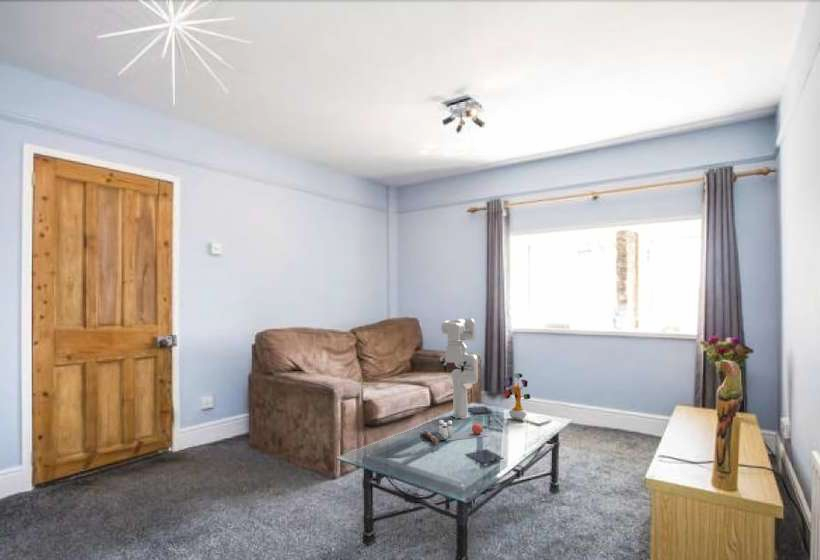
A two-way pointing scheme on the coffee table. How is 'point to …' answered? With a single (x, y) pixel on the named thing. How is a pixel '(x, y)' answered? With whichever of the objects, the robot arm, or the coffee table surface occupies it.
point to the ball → (477, 429)
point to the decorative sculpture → (516, 397)
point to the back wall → (432, 437)
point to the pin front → (449, 428)
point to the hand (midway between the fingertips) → (454, 372)
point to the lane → (465, 435)
